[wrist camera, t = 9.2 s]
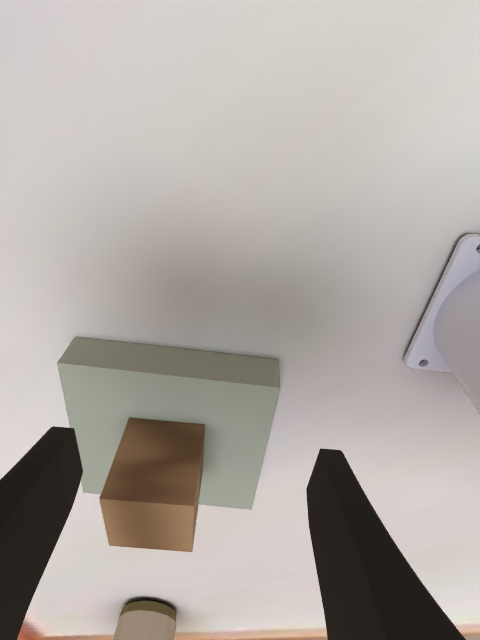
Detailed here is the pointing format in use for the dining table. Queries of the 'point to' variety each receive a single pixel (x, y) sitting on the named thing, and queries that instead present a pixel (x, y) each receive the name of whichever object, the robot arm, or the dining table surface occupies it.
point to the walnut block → (154, 485)
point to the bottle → (146, 622)
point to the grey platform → (172, 408)
